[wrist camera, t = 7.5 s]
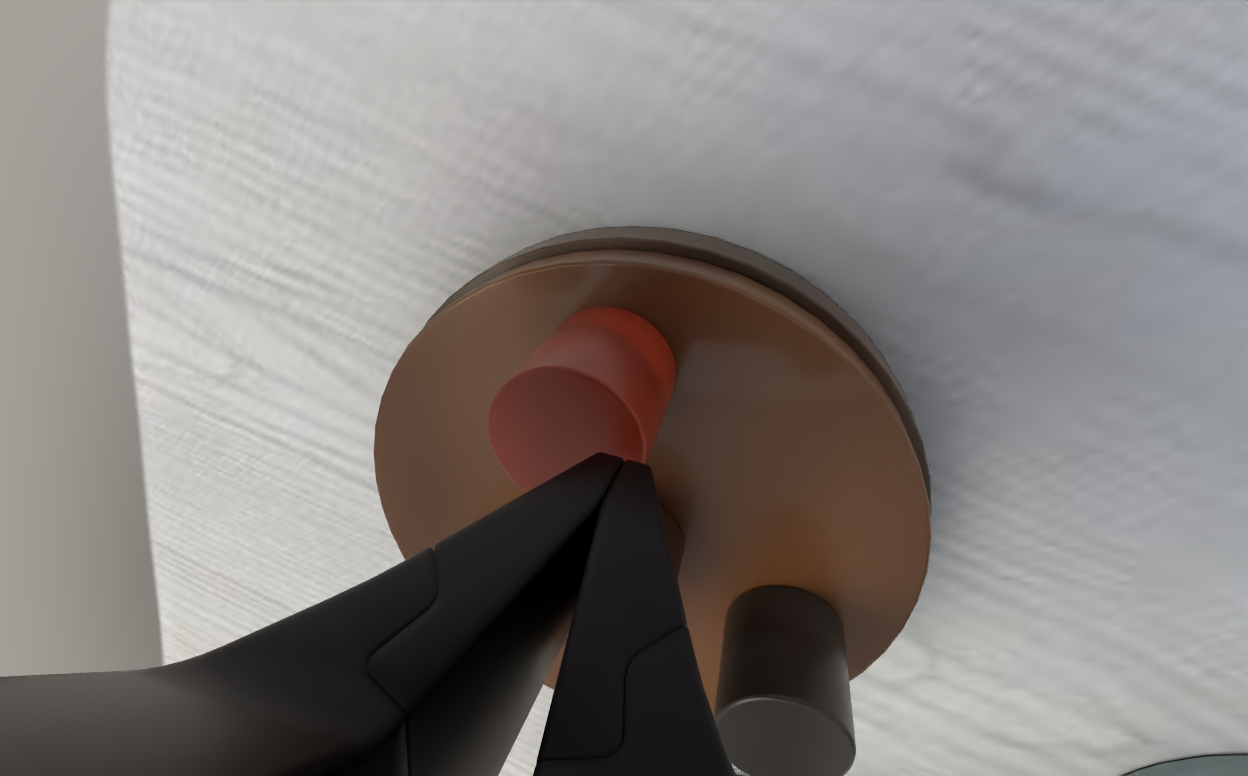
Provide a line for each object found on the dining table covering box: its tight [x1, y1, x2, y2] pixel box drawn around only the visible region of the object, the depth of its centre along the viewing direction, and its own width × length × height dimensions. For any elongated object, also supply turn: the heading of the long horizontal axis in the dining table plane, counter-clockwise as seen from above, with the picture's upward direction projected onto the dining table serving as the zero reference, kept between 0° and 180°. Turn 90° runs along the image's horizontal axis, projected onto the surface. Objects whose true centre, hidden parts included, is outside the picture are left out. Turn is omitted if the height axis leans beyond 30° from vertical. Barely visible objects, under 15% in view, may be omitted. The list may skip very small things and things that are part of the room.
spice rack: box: [374, 249, 931, 776], centre depth 14 cm, size 14×14×4 cm
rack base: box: [424, 226, 931, 517], centre depth 16 cm, size 14×14×1 cm
